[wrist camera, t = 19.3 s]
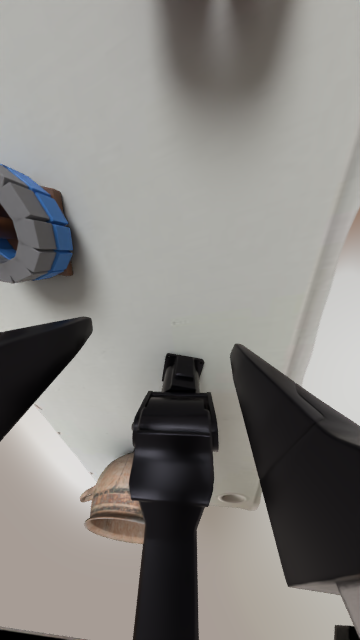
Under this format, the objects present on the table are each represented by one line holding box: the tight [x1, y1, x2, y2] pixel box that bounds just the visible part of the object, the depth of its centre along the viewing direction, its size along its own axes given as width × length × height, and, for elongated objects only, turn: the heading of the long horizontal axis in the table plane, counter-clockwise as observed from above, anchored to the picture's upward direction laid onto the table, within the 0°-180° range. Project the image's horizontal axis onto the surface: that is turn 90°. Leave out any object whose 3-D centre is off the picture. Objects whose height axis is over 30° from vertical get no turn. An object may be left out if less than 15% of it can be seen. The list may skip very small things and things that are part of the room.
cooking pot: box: [80, 452, 145, 544], centre depth 35 cm, size 25×19×12 cm
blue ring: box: [0, 164, 73, 281], centre depth 16 cm, size 10×10×2 cm
